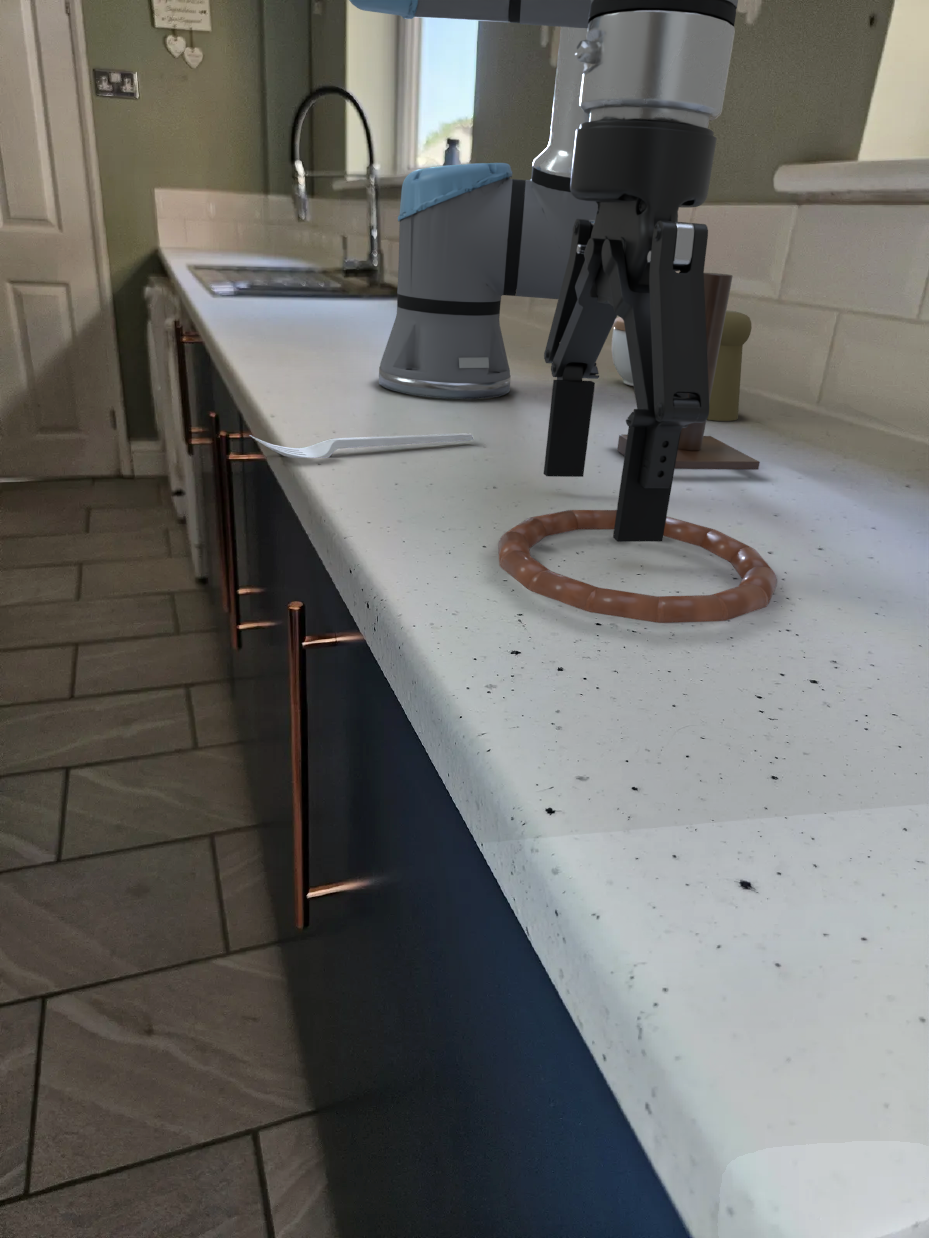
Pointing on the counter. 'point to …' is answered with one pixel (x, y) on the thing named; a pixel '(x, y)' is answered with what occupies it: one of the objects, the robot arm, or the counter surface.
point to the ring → (658, 609)
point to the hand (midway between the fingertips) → (596, 504)
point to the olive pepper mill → (729, 368)
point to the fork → (361, 444)
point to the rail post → (692, 442)
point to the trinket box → (621, 352)
